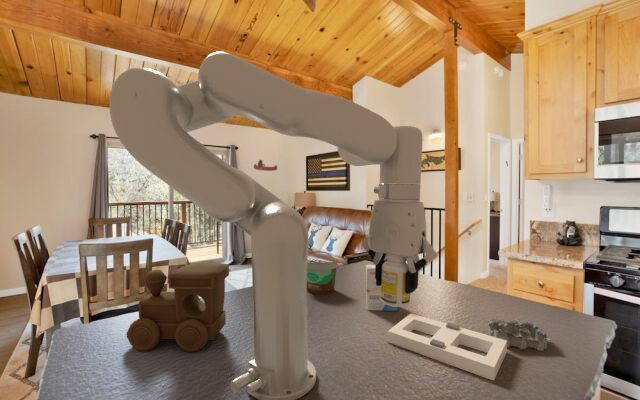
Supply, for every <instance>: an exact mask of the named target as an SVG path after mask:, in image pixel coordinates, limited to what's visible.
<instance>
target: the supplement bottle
mask: <svg viewBox="0 0 640 400" xmlns="http://www.w3.org/2000/svg"><path fill="white" fill-rule="evenodd" d="M385 260H386V261H385V263H383V265H382V283H381V301H382V302H383V303H384V304H386V305H388V306H392V307H398V308H403V307H407V306H409V305H410V300H411V293H410V294H407V293H406V292H405V285H406V272H408V271H409V267H408V264H407V260H406V257H402V256H396V255H391V254H386V259H385Z"/></svg>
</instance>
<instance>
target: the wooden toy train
mask: <svg viewBox="0 0 640 400" xmlns="http://www.w3.org/2000/svg"><path fill="white" fill-rule="evenodd" d="M229 275H230V264H228V263H220V262H214V263H213V262H200V263H188V264H186V265H183V266H181V267H180V268H178V269H175V270H174V271H173V272H172V273H171V274H169V275H168V276H167V275H166V274H165V273H164V272H163V271H162V270H161V269H153V270H150V271H148V273H147V275H146V277H144V280H143V282H144V284H145V286H146V288H147V289H148V291H149V292H150V293H149V294H147V295H145V296H144V297H142V299H140V300H139V301H138V319H135V320H134V321H132V323H131V324H130V325H129V327H128V330H127V332H126V339H127V340H128V342H129V344H130V345H131V346H132V347H133V348H134V349H136V350H138V351H141V352H144V351H150V350H153V349H154V348H156V346H157V345H158V344H159V343H160V339H164V340H165V339H167V340H171V339H172V340H174V339H175V342H176V344H177V346H179V348H180V349H182V350H184V352H190V353H191V352H198V351H199V350H202V349H203V348H204V347H205V346H206V345H207V342H208V341H209V340H212V341H213V340H215V338H216V337H217V335H218V334H219V333H220V332H221V331H222V329H223V328H224V326H225V325H226V321H227V320H226V315H227V314H226V310H224V308H225V307H224V305H225V295H226V278H227V277H228V276H229ZM167 280H168V289H174V290H173V291H163V289H164V286H165V284H166V281H167ZM201 299H202V300H201Z"/></svg>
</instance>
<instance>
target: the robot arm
mask: <svg viewBox="0 0 640 400" xmlns="http://www.w3.org/2000/svg"><path fill="white" fill-rule="evenodd" d="M198 70H199V71H198V78H197V80H196V81H191V82H188V83H185V84H182V85H177V84H176V83H175V82H174V81H173V80H172V79H170V78H168V76H166V75H165V74H163V73H161V72H159V71H158V70H157V71H156V70H154V69H151V68H148V67H132V68H129V69H127V70H124V71H123V72H122V73H120V74H119V75H118V76H117V78H116V79H115V81H114V83H113V85H112V87H111V90H110V96H109V115H110V120H111V123H112V127H113V129H114V132H115V134H116V136H117V138H118V140H119V142H120V143H121V145H122V146H123V147H124V148H125V150H126V151H127V152H128V153H129V154H130V155H131V156H132V157H133V159H134V160H136V161H137V163H139V164H140V165H141V166H143V168H145V169H146V170H147V171H149V172H150V173H151V174H153V175H154V176H156V177H157V178H158V179H159V180H161V181H163V182H164V183H165V184H166V185H168V186H169V187H170V188H172V189H173V190H174V191H175V192H177V193H179V194H180V195H181V196H183V197H184V198H185V199H187V201H190V202H191V203H193V204H194V205H195V206H196V207H198V208H199V209H201V210H202V211H203V212H205V213H206V214H207V215H208V216H209V217H211V218H212V219H214V220H216V221H219V222H222V223H232V224H233V225H235V226H236V227H237V228H239V229H240V230H241V231H243V232H244V233H246V234H248V235H249V236H250V249H251V252H250V253H251V274H252V275H251V278H252V279H251V282H252V286H251V287H252V303H253V304H252V308H253V310H252V313H253V314H252V316H253V317H252V318H253V325H252V326H253V359H252V360H250V361H249V362H248V364H249V365H248V369H247V370H246V371H245V372H244V374H242V375H240V376H238V377H236V378H234V379H232V380H231V381H230V383H229V386H230V390H231V392H232V393H233V394H237V393H238V392H240V391H241V390H243V389H245V388H246V391H247V394H249V395H250V396H252V397H253V398H255V399H257V400H298V399H300V398H301V397H304V396H305V395H306V394H308V393H309V392H310V391H311V390H312V389H313V388H314V386H315V384H316V382H317V370H316V369H317V368H316V367H315V365H314V364H313V363H312V362H311V361H310V360H309V358H308V291H307V261H308V259H309V258H308V257H309V242H310V241H309V240H310V239H309V230H308V226H307V223H306V221H305V219H304V218H303V216H302V215H301V214H300V212H298V211H297V210H296V209H295V208H293V206H291V205H289V204H287V203H286V202H284V200H281V198H279V197H278V196H276V195H275V194H273V193H272V192H271V191H270V190H268V189H267V188H265V186H263V185H262V184H260V183H259V182H257V181H256V180H255V179H253V178H252V177H251V176H249V175H248V174H247V173H246V172H244V171H242V170H241V169H238V168H237V167H234V166H232V165H230V164H229V163H227V161H224V160H223V159H222V158H221V157H219V156H217V155H216V154H215V153H214V152H212V151H211V150H209V149H208V148H207V147H206V146H204V144H202V143H201V142H200V141H198V140H197V139H196V138H194V137H193V136H192V135H191V134H189V133H190V132H192V131H195V130H196V131H197V130H200V129H202V128H205V127H208V126H212V125H215V124H218V123H221V122H224V121H226V120H227V121H228V120H229V119H232V118H235V117H237V116H241V117H243V118H245V119H247V120H250V121H252V122H255V123H257V124H259V125H262V126H264V127H265V128H267V129H270V130H272V131H274V132H276V133H278V134H281V135H284V136H288V137H299V138H309V139H313V140H316V141H317V140H318V141H321V142H324V143H327V144H329V145H332V146H334V147H337V148H336V149H337V153H338V155H339V157H340V158H341V160H342V161H344V163H346V164H348V165H350V166H354V167H364V166H371V165H374V166H375V165H379V183H378V186H375V187H374V188H373V193H374V194H376V195H378V199H375V200H374V202H373V207H372V209H371V210H372V211H371V215H370V221H369V227H368V229H369V230H368V236H367V237H366V239H364V241H362V243H361V246H362V247H363V249H364V250H365V251H366V252H367V254H368V256H369V257H370V258H371V260H372V264H373V265H376V266H375V279H376V285H377V286H380V285H381V283H382V265H383V263H385V262H386V260H387V259H386V254H391V255H396V256H402V257H406V260H407V261H406V263H407V264H408V267H409V271H408V272H406V285H405V292H406V293H407V294H410V295H411V293H413V292H415V291H416V290H417V289H418V287H419V271H420V270H422V269H423V268H424V267H425V266H427V265H428V264H429V263H431V262H432V261H434V260H436V259H437V258H438V253H437V252H436V251H435V249H434V248H433V246H432V245H431V244H430V242H429V240H427V219H426V212H425V207H424V206H425V205H424V202H423V201H421V186H422V185H421V184H422V183H421V181H422V160H423V141H424V140H423V137H424V136H423V132H422V129H420V128H419V127H415V126H411V125H409V126H408V125H398V126H397V125H396V126H393V125H392V123H391V122H390V121H388V120H387V119H386V118H385V117H383V116H382V115H380V114H378V113H376V112H374V111H373V110H370V109H369V108H366V107H365V106H363V105H360V104H359V103H356V102H354V101H352V100H349V99H346V98H344V97H340V96H336V95H334V94H329V93H325V92H320V91H317V90H314V89H309V88H303V87H301V86H299V85H297V84H295V83H293V82H290V81H288V80H287V79H284V78H282V77H280V76H277V75H276V74H275V73H274V74H273V73H272V72H269V71H268V70H266V69H264V68H262V67H260V66H258V65H256V64H254V63H251V62H249V61H247V60H245V59H243V58H241V57H239V56H237V55H234V54H231V53H228V52H225V51H216V52H212V53H210V54H208V55H207V56H206V57H205V58H204V59H203V60H202V62H201V63H200V67H199V69H198ZM422 254H425V255H424V256H423V257H421V258H420V256H419V255H422Z"/></svg>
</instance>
